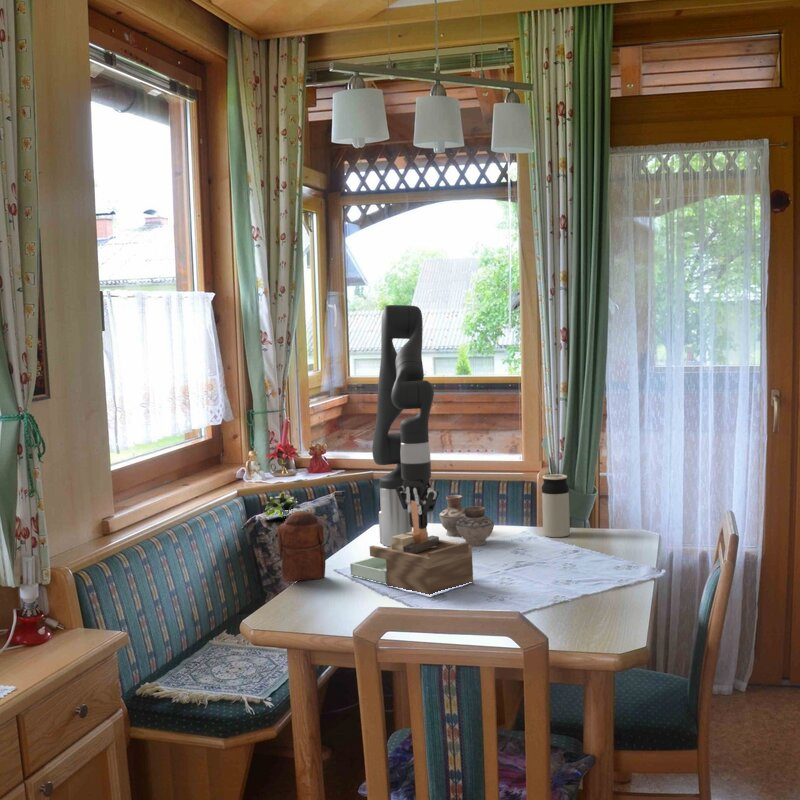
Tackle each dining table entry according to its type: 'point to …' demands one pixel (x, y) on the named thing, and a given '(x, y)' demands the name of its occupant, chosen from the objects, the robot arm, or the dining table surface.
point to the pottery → (466, 521)
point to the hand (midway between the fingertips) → (418, 527)
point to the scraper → (419, 534)
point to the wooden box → (428, 567)
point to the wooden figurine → (301, 547)
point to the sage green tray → (370, 569)
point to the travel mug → (555, 506)
